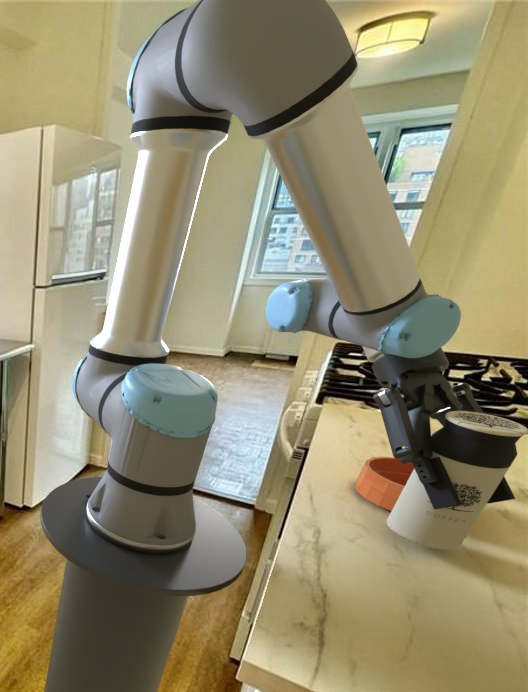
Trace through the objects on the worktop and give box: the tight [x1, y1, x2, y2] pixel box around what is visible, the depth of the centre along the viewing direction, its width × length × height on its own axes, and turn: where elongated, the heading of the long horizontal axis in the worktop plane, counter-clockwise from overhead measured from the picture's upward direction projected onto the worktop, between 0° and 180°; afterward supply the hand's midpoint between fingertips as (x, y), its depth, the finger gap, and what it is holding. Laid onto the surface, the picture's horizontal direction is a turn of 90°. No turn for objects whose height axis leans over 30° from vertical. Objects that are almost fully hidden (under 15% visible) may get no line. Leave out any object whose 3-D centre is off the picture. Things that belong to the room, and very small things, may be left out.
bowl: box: [354, 456, 414, 512], centre depth 80 cm, size 14×14×5 cm
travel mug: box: [386, 411, 528, 550], centre depth 66 cm, size 8×8×18 cm
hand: (474, 504), depth 64 cm, fingers closed on travel mug, 8 cm apart
